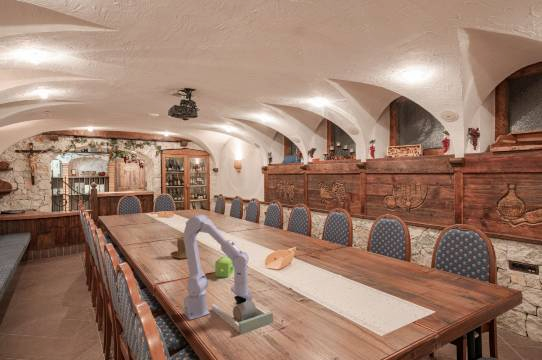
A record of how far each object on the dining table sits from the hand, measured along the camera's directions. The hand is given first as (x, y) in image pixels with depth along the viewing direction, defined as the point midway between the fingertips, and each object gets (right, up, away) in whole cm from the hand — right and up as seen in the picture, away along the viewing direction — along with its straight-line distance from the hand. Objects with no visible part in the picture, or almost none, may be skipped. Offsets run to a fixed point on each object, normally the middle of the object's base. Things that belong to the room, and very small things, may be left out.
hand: (241, 312), depth 136 cm
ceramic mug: (+3, -2, -5) cm, 6 cm away
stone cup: (-54, -1, +98) cm, 112 cm away
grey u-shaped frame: (-1, -2, +1) cm, 2 cm away
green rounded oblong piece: (-15, -1, +55) cm, 57 cm away
